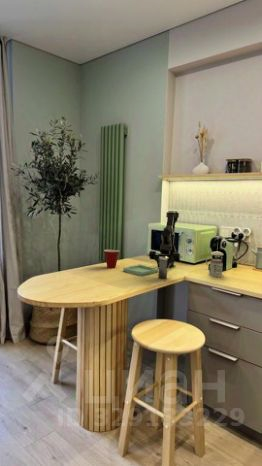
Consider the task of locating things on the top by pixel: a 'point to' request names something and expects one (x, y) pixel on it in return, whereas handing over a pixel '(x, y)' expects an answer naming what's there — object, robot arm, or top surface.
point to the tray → (140, 270)
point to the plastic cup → (111, 258)
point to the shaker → (163, 267)
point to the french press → (215, 262)
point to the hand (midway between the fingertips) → (162, 267)
